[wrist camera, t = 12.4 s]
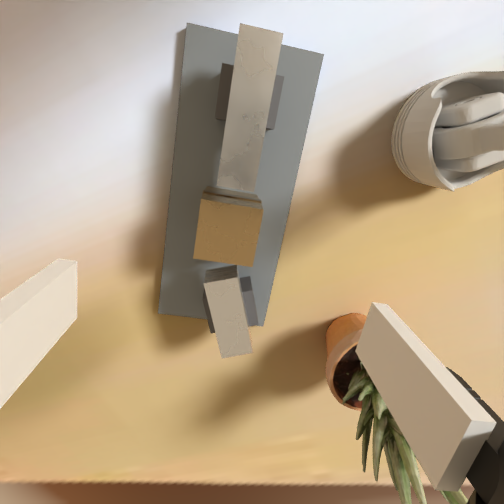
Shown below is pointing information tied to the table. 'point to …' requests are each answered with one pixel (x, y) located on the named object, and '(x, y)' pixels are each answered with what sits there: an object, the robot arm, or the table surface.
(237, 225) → the tan cardboard block
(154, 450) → the table surface
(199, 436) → the table surface
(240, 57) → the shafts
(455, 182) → the engine component
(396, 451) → the potted plant
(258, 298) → the shaft bench
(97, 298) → the table surface
